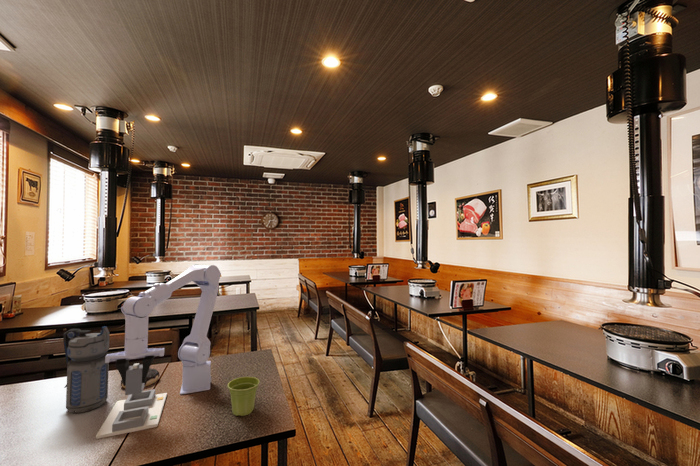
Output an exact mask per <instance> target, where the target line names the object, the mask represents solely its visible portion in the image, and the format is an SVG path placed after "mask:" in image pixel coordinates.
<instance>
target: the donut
mask: <svg viewBox="0 0 700 466" xmlns="http://www.w3.org/2000/svg"><path fill="white" fill-rule="evenodd" d="M159 378H160V372H159V370H158V369H155V368H151V367H150V368H149V371H148V374H147V378H146V382H145V384H144V387H148V386H151V385H152V384H154V383H156V382H157V381H158V380H159ZM120 387H122V388H124V389H125V387H126V386H123V381H122V379H121V380H120Z"/></svg>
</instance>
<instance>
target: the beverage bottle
mask: <svg viewBox="0 0 700 466" xmlns="http://www.w3.org/2000/svg"><path fill="white" fill-rule="evenodd" d="M91 331H92V330H88V329H87V330H85V329H84V330H82V329H81V328H70V329H68V330H67V331H65V332H64V333H63V336H62V339H63V342H62V343H63V345H64V347H63V348H64V353H65V354H64V355H65V361H66V366H67V367H66V370H67V371H66V384H65V386H64V387H63V388H64V389H65V388H66V395H65V397H66V398H65V399H66V400H65V409H66V410H67V411H68V412H69V413H72V414H74V413H75V414H76V413H84V412H89V411H92V410H94V409H96V408H98V407H100V406H102V405H104V404H105V403H106V402H107V399H108V397H109V395H108V394H109V363H110V362H108V363H105V356H106V355H107V354H108V351H109V349H110V333H111V332H110V331H109V328H108V326H105V325H104V326H102V327H101V330H99V332H93V333H92V332H91ZM90 332H91V333H90Z"/></svg>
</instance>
